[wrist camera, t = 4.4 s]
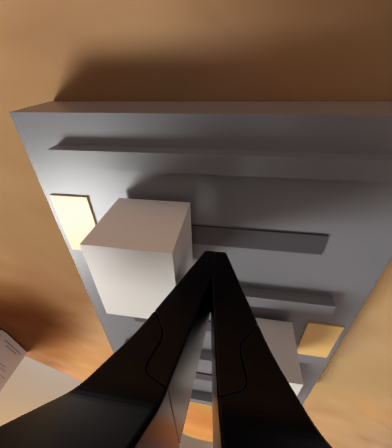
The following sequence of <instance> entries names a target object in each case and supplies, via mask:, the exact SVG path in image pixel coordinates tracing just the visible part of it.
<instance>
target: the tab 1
mask: <svg viewBox="0 0 392 448" xmlns="http://www.w3.org/2000/svg"><path fill="white" fill-rule="evenodd" d="M79 245H80V247H81V250H82V252H83V255H84V257H85V260H86V262H87V265H88V267H89V270H90V273H91V275H92V278H93V280H94V283H95V285H96V288H97V290H98V293H99V295H100V298H101V300H102V303H103V305H104V308H105V310H106V313H108V314H115V315H122V316H130V317H137V318H145V319H148V318H149V317H150V315H151V314H152V313H153V312H155V310H156V308H157V307H158V306H159V305H160V304H161V303H162V301H163V300H164V299H165V298H166V297H167V295H168V294H169V293H170V292H171V291H172V290H173V288H174V287H175V286H176V285H177V284H178V282H179V281H180V280H181V279H182V278H183V276H184V275H185V274H186V273H187V272H188V271H189V269H190V268H191V267H192V266H193V253H192V230H191V207H190V202H176V201H160V200H144V199H127V198H119V199H118V200H117V201H116V202H115V203H114V205H113V206H112V207H111V208H110V209H109V210H108V212H107V213H106V214H105V215H104V216H103V217H102V219H101V220H100V221H99V222H98V223H97V224H96V226H95V227H94V228H93V229H92V230H91V231H90V233H89V234H88V235H87V236H86V237H85V239H84V240H83V241H82V242H81V243H80V244H79Z"/></svg>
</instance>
